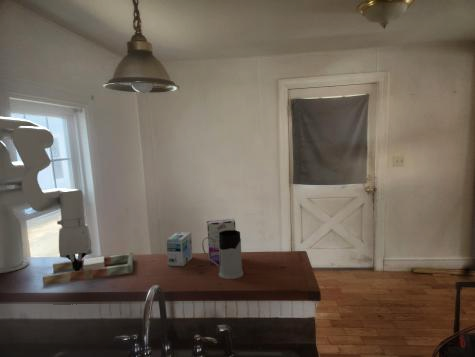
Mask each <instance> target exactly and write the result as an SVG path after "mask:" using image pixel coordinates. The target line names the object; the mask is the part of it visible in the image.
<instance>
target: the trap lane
mask: <svg viewBox="0 0 475 357" xmlns="http://www.w3.org/2000/svg"><path fill="white" fill-rule="evenodd" d="M84 259H85V258H83V259H82V268H81V270H80V271H74V269H73V267H72V262H71V260H69V261H61V262H60V261H59V262H53V264H52V270H53V273H52V274H45V275H42V285H43V286H49V285H57V284H62V283H63V284H64V283H71V282H76V281H84V280H90V279H91V280H92V279H97V278H106V277H112V276H119V275H126V273H127V274H133V268H134V253H133V252H131V253H125V254H124V253H122V254H117V255H116V254H115V255H109V256H108V255H107V256H104V263H105V267H102V268H95V269H88V270H83V263H84ZM117 264H118V265H117ZM108 265H112V266H108ZM71 269H73V270H72V271H70V270H71ZM63 270H65V271H66V272H64V271H63ZM56 271H58V273H57V272H56Z"/></svg>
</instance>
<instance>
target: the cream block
mask: <svg viewBox="0 0 475 357" xmlns="http://www.w3.org/2000/svg"><path fill="white" fill-rule="evenodd" d="M104 257H105V256H97V257H91V258H83V259H84V263H83V268H82V270H88V269H95V268H102V267H106V265H105V263H104Z"/></svg>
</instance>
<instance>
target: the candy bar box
mask: <svg viewBox="0 0 475 357" xmlns="http://www.w3.org/2000/svg"><path fill="white" fill-rule="evenodd" d="M226 230H236V221H235V218H225V219H216V220H208V221H206V231H207V232H206V233H207V235H206V236H207V237H211V238H213V239H214V241H215V247H216V248H219V247H220V245H219V233H220V232H222V231H226ZM236 231H237V230H236ZM215 247H214V242H213V240H212V239H210V238H207V251H208V254H207V256H208V257H209V258H210V259H211V260H213V261H214V262H215V263H217V264H220V257H219V249H216V248H215ZM211 260H209V259H208V261H209V264H210V265H213V264H214V263H213V262H212V261H211ZM214 265H215V264H214Z"/></svg>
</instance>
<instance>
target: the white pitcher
mask: <svg viewBox="0 0 475 357" xmlns="http://www.w3.org/2000/svg"><path fill="white" fill-rule="evenodd" d="M208 238H210V239H212V240H213V242H214V247H215V241H214V239H213V238H211V237H205V238H203V240H202V242H201V244H202V251H203V253H204V255H205V257H206V258H207V259H208V261H209V260H211V259H210V258H209V255H208V254H207V252H206V251H205V248H204V247H205V246H204V241H205V240H208ZM219 245H220V247H219V248H216V247H215V248H216V249H219V257H220V263H215V262H214V261H213V260H211V261H212V262H213V263H214V265H215V266H217V267H218V270H219V272H218V276H219V277H220V278H222V279H226V280H233V279H239V278H241V277H242V276H243V275H244V272H243V263H242V259H243V258H242V238H241V232H240V231H239V230H226V231H222V232H220V233H219Z"/></svg>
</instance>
